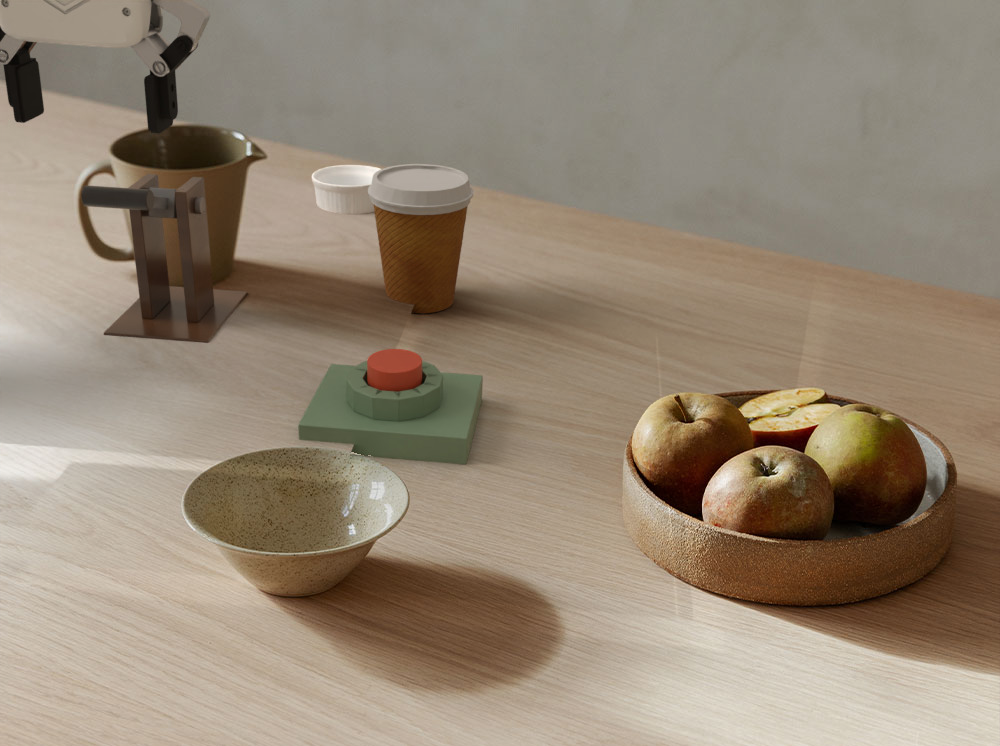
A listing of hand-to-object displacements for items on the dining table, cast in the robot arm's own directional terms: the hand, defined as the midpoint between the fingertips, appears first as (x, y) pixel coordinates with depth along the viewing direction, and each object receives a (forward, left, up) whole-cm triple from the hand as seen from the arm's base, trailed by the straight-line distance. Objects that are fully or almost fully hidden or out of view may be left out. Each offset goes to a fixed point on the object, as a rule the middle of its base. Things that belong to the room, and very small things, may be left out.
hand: (95, 123), depth 79 cm
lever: (0, +6, -9) cm, 11 cm away
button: (+22, -4, -17) cm, 28 cm away
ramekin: (+8, +45, -20) cm, 50 cm away
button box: (+22, -4, -20) cm, 31 cm away
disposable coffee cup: (+20, +20, -20) cm, 35 cm away
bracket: (0, +11, -20) cm, 23 cm away
